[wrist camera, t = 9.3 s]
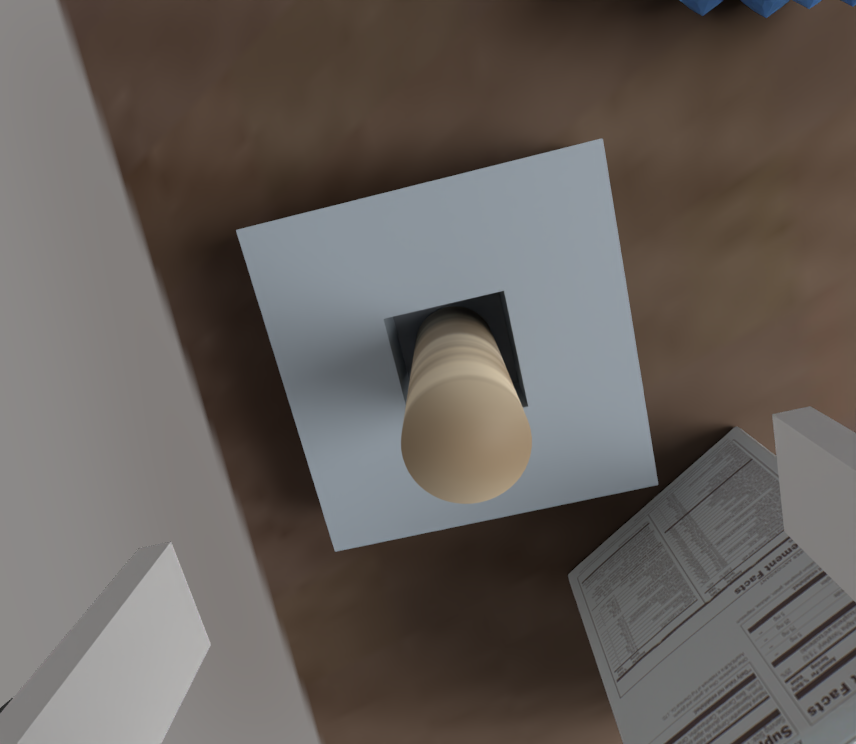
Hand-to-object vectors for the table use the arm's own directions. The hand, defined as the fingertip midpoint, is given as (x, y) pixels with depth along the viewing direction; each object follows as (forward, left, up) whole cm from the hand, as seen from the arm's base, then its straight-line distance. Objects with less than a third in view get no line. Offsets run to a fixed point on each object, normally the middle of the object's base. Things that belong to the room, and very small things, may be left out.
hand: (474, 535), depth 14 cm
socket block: (0, 0, -21) cm, 21 cm away
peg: (0, 0, -20) cm, 20 cm away
